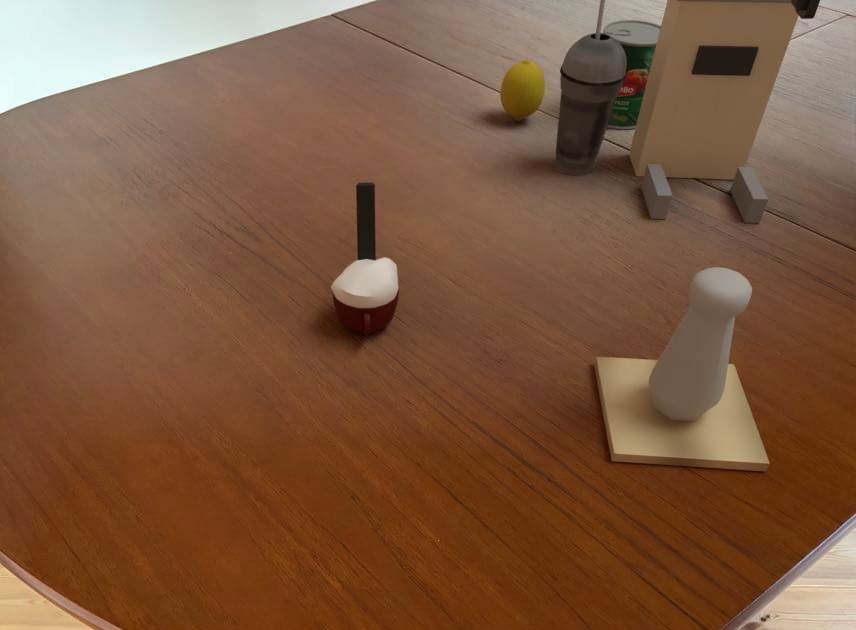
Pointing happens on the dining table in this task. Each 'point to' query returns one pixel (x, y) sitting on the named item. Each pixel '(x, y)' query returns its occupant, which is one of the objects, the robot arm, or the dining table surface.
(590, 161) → the beverage cup
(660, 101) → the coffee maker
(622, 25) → the canned tomato
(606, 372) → the plate
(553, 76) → the dining table surface
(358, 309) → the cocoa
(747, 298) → the salt shaker
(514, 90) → the lemon
